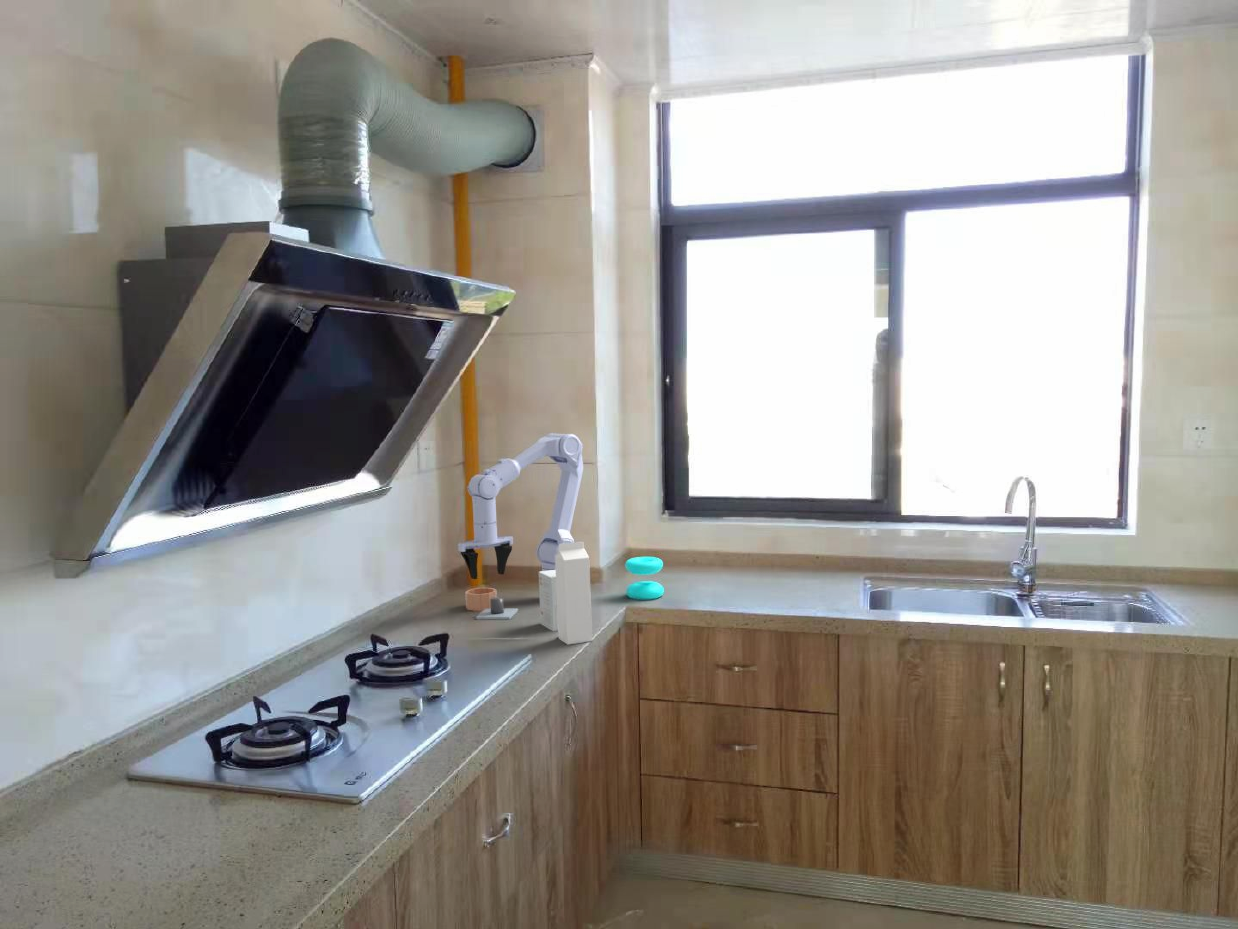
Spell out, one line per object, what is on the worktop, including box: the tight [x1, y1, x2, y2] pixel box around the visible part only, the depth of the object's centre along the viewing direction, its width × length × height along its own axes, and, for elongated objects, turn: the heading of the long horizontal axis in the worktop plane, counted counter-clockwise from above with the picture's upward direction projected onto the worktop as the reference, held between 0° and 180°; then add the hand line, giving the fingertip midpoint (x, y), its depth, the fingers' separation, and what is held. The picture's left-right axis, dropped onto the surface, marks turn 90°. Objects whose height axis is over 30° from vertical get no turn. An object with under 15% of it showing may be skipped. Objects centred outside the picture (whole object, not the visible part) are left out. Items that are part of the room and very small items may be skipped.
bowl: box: [464, 587, 498, 612], centre depth 245 cm, size 8×8×4 cm
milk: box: [555, 541, 593, 645], centre depth 211 cm, size 6×6×22 cm
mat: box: [474, 610, 520, 621], centre depth 235 cm, size 9×9×1 cm
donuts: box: [624, 556, 665, 601], centre depth 251 cm, size 10×10×10 cm
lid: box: [475, 596, 519, 619], centre depth 235 cm, size 8×8×4 cm
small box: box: [538, 570, 558, 632], centre depth 223 cm, size 8×6×13 cm
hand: (487, 576), depth 238 cm, fingers open, 7 cm apart
